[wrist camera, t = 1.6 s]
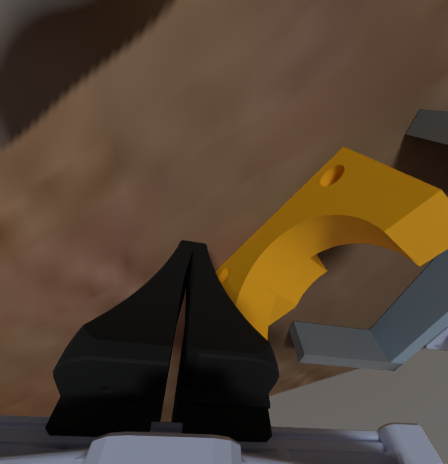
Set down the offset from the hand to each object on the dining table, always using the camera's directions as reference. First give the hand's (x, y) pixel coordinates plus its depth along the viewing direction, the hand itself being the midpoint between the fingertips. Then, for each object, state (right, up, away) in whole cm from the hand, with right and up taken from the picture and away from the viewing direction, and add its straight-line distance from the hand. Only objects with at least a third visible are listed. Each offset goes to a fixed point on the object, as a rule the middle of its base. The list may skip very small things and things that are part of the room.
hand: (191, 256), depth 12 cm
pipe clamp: (+6, +1, +3) cm, 7 cm away
